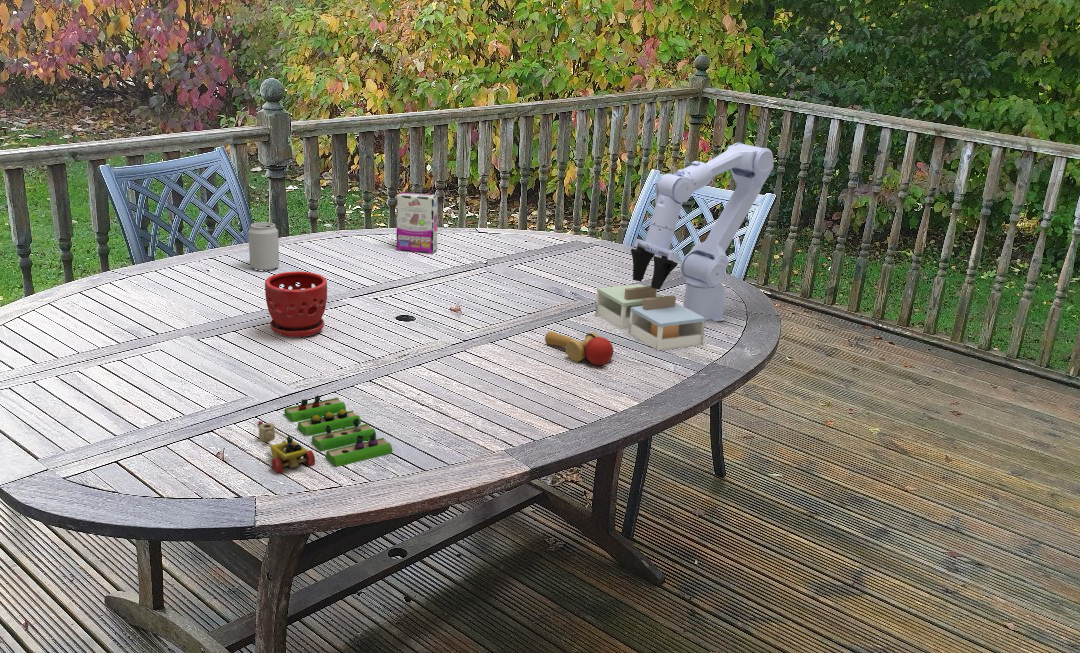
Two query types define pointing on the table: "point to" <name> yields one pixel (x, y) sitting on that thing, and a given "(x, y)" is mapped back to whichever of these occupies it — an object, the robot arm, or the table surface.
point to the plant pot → (296, 303)
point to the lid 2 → (666, 312)
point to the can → (263, 246)
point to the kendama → (583, 347)
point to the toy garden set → (324, 435)
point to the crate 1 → (613, 311)
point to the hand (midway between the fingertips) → (646, 284)
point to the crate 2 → (642, 329)
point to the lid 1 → (629, 294)
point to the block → (665, 331)
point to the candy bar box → (416, 222)
